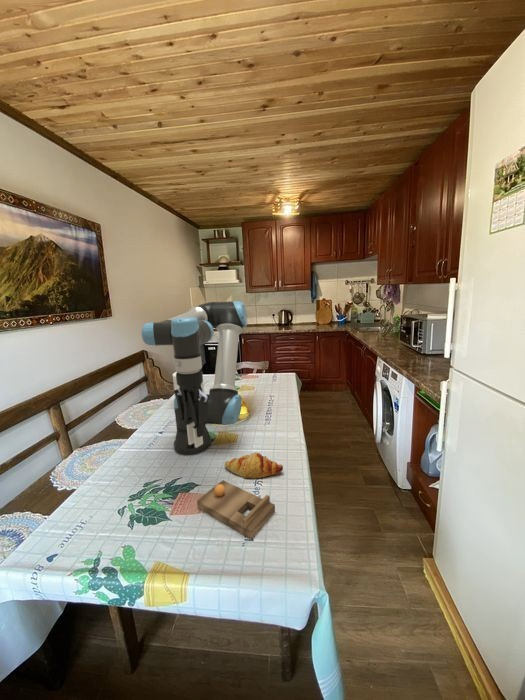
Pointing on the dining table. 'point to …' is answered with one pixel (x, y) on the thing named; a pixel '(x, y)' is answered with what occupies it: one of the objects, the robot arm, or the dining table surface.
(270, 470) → the croissant
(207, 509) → the wooden tray with slot
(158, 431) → the dining table surface
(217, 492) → the ball
